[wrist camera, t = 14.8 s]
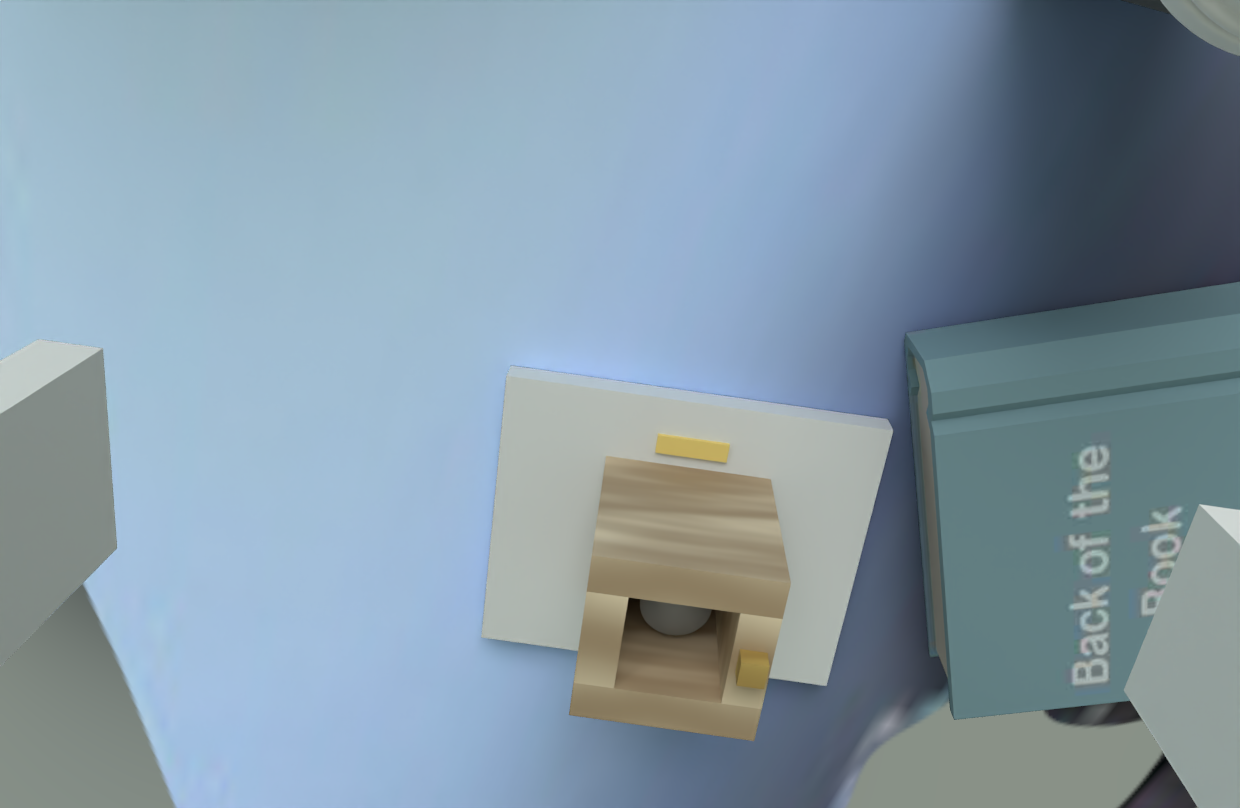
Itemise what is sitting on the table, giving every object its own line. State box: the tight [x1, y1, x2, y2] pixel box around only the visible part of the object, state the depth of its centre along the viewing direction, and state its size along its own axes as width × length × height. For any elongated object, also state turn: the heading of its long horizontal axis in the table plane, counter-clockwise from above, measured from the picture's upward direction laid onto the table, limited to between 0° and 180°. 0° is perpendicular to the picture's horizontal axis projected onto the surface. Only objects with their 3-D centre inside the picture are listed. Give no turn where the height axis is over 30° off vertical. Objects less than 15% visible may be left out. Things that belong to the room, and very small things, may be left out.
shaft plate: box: [481, 366, 893, 686], centre depth 42 cm, size 16×13×6 cm
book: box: [904, 282, 1240, 720], centre depth 41 cm, size 23×16×5 cm
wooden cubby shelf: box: [569, 456, 791, 741], centre depth 40 cm, size 7×7×9 cm
